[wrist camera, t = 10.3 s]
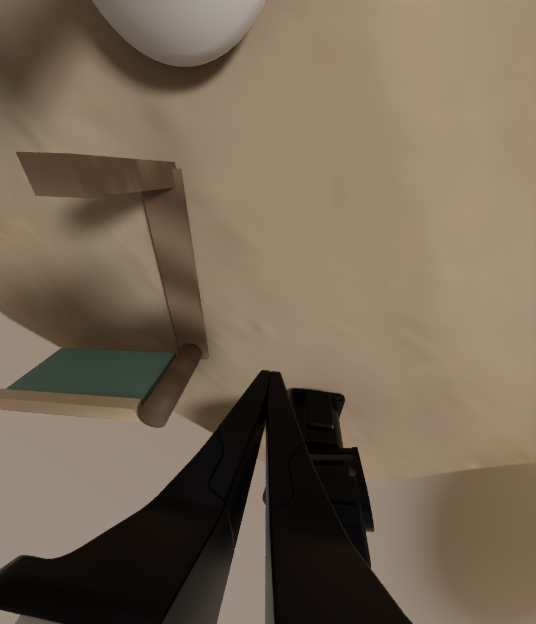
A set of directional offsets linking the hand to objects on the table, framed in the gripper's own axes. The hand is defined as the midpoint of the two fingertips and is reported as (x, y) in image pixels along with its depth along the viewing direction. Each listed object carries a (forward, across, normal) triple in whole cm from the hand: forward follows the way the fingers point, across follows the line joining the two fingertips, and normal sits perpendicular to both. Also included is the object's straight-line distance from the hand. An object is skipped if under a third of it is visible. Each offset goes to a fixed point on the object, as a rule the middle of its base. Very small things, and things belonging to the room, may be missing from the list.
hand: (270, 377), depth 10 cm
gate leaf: (+10, +19, +11) cm, 24 cm away
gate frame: (+12, +10, +2) cm, 16 cm away
